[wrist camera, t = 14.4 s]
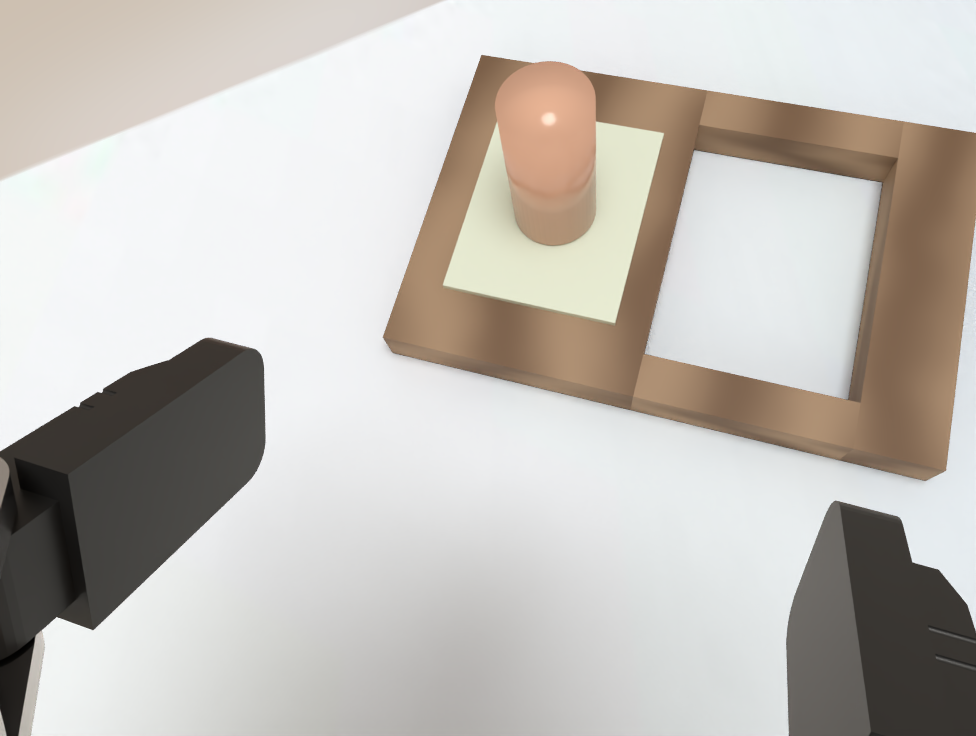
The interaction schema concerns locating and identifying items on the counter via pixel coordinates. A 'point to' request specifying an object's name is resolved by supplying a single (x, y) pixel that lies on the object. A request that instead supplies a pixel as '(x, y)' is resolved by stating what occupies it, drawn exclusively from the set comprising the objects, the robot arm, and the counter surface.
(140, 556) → the robot arm
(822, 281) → the counter surface
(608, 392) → the hole board
